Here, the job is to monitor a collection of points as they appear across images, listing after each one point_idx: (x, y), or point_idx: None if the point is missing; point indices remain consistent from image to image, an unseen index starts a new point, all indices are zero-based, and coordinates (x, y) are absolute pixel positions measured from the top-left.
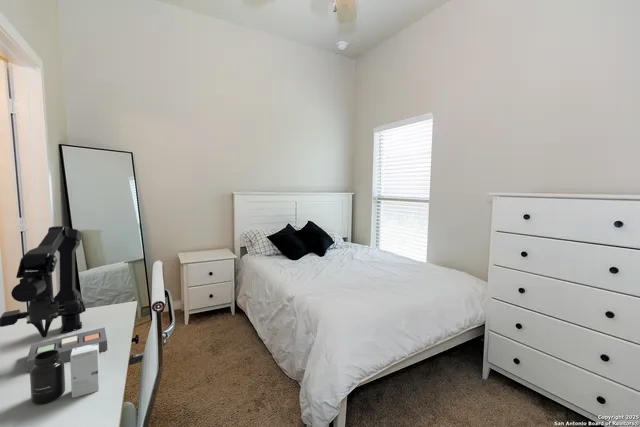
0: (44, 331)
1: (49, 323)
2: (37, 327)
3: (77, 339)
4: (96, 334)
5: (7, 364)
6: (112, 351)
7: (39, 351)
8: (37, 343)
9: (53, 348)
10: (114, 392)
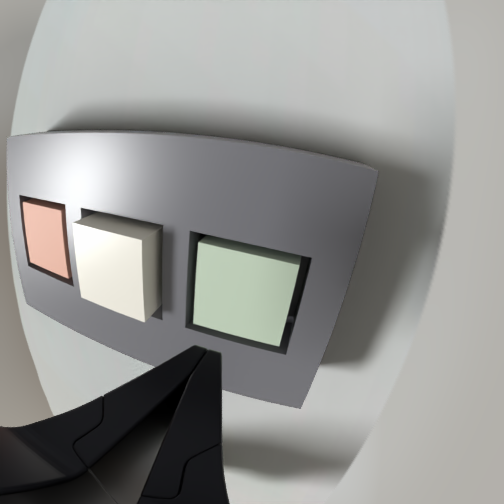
0: (170, 389)
1: (54, 430)
2: (208, 480)
3: None
4: (33, 253)
5: (402, 348)
6: (39, 104)
7: (280, 283)
8: (272, 401)
9: (198, 254)
10: None
